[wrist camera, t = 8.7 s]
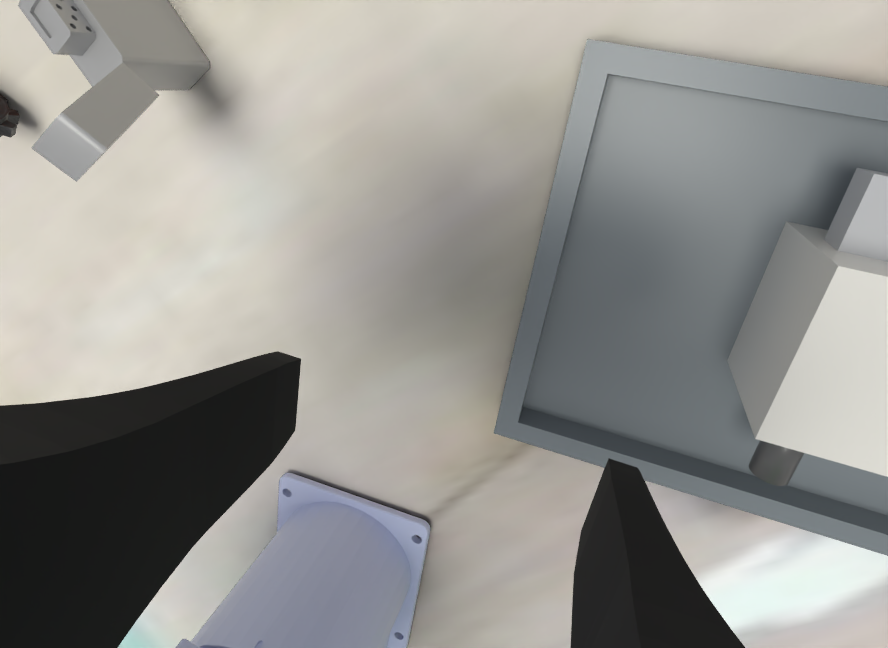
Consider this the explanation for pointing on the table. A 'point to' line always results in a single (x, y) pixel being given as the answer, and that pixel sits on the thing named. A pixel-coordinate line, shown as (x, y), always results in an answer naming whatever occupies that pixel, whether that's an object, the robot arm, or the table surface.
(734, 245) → the tray
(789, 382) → the plug
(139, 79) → the lighter
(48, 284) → the table surface
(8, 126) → the gear
